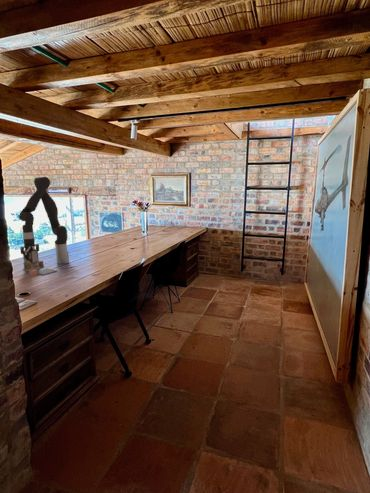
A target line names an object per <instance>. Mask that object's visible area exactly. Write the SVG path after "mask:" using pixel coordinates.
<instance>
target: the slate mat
mask: <svg viewBox="0 0 370 493" xmlns="http://www.w3.org/2000/svg"><path fill="white" fill-rule="evenodd" d="M57 272H58V270H55V269H52V268H44V269H43V268H42V269H39V270H37V273H38V275H40V276H46V275H51V274H53V273H57Z"/></svg>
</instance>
